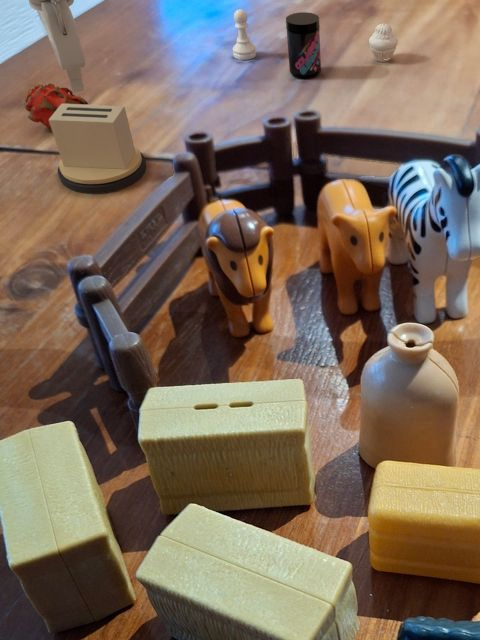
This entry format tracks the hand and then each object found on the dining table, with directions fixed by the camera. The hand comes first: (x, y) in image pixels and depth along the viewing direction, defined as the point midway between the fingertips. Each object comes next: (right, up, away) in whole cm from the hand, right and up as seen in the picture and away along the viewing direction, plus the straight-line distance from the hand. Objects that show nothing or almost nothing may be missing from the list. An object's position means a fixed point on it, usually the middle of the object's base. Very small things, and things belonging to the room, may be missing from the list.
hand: (73, 77), depth 116 cm
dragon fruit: (-11, +3, +23) cm, 26 cm away
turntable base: (+1, -10, +12) cm, 16 cm away
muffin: (+52, +26, +42) cm, 72 cm away
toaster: (+1, -9, +11) cm, 14 cm away
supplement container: (+35, +21, +38) cm, 56 cm away
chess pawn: (+21, +28, +44) cm, 56 cm away
